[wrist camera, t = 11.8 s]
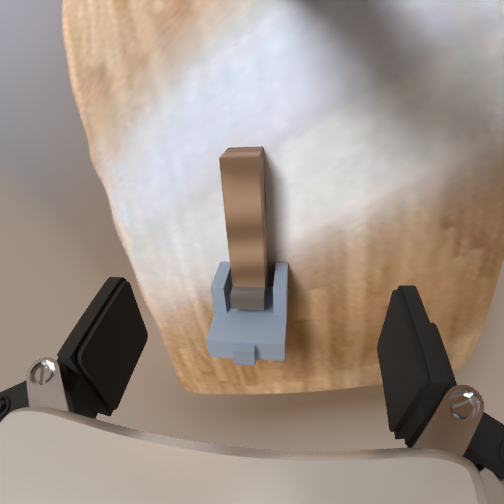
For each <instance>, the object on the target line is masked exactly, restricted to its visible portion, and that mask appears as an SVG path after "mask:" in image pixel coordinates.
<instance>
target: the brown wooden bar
mask: <svg viewBox="0 0 504 504" xmlns="http://www.w3.org/2000/svg"><path fill="white" fill-rule="evenodd" d="M219 160H220V171H221V181H222V191H223V201H224V211H225V220H226V230H227V239H228V248H229V257H230V266H231V275H232V284H233V287H232V291H231V294H230V300H231V308H232V309H247V310H264V307H265V300H266V293H267V286H268V279H269V272H268V247H267V224H266V202H265V181H264V162H263V147H237V148H228V149H227V150H226V151H225V152H224V153H223V155H222V156H221V157H220V158H219Z"/></svg>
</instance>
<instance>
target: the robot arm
mask: <svg viewBox="0 0 504 504" xmlns="http://www.w3.org/2000/svg"><path fill="white" fill-rule="evenodd" d="M147 338H148V334H147V330H146V327H145V325H144V322H143V320H142V317H141V314H140V311H139V308H138V305H137V303H136V300H135V297H134V294H133V291H132V288H131V285H130V283H129V282H127V281H126V279H125V278H122V277H109V278H108V279H107V281H106V282H105V283H104V285H103V286H102V288H101V289H100V291H99V292H98V293H97V295H96V296H95V298H94V299H93V301H92V302H91V304H90V305H89V306H88V308H87V309H86V311H85V312H84V314H83V315H82V317H81V318H80V320H79V321H78V323H77V324H76V326H75V327H74V329H73V330H72V332H71V333H70V335H69V337H68V338H67V340H66V341H65V343H64V344H63V346H62V348H61V349H60V351H59V353H58V354H57V355H58V359H57V361H56V360H55V359H53V358H47V357H45V358H41V359H39V360H37V361H35V362H34V363H33V364H32V365H31V366H30V368H29V369H28V372H27V375H26V381H24V382H22V383H20V384H18V385H15V386H13V387H11V388H9V389H7V390H4V391H2V392H0V504H504V425H503V424H502V423H500V422H499V421H497V420H495V419H494V418H492V417H491V416H489V415H488V414H486V413H485V412H483V411H484V401H483V399H482V397H481V395H480V394H479V392H477V391H476V390H475V389H474V388H472V387H470V386H467V385H457V384H456V381H455V377H454V374H453V371H452V368H451V365H450V362H449V359H448V356H447V353H446V350H445V348H444V345H443V342H442V339H441V336H440V334H439V331H438V328H437V326H436V324H434V323H430V321H429V319H428V316H427V313H426V311H425V308H424V306H423V303H422V300H421V298H420V295H419V293H418V291H417V288H416V286H399V287H398V289H397V290H393V292H392V295H391V299H390V303H389V307H388V310H387V314H386V317H385V321H384V324H383V328H382V331H381V335H380V338H379V341H378V346H377V352H378V358H379V363H380V369H381V375H382V381H383V387H384V394H385V400H386V407H387V415H388V421H389V429H390V431H391V432H394V434H395V439H403V438H404V439H405V444H406V445H407V448H395V449H376V450H355V451H354V450H353V451H288V450H270V449H256V448H244V447H233V446H225V445H217V444H210V443H202V442H196V441H190V440H184V439H178V438H173V437H167V436H162V435H157V434H152V433H148V432H143V431H139V430H135V429H130V428H126V427H122V426H118V425H114V424H110V423H107V422H103V421H100V420H97V419H96V416H97V414H98V413H100V414H104V415H107V416H111V414H112V412H113V410H116V409H117V407H118V405H119V403H120V401H121V398H122V396H123V394H124V391H125V389H126V387H127V384H128V382H129V380H130V377H131V375H132V373H133V371H134V368H135V366H136V364H137V362H138V359H139V357H140V355H141V353H142V351H143V348H144V346H145V344H146V342H147ZM487 499H488V500H487Z"/></svg>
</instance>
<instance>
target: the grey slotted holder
mask: <svg viewBox="0 0 504 504" xmlns="http://www.w3.org/2000/svg"><path fill="white" fill-rule="evenodd" d="M232 287H233V284H232V275H231V266H230V262H220V264H219V267H218V269H217V272H216V275H215V277H214V280H213V283H212V286H211V293H212V299H213V305H214V311H215V314H214V317H213V320H212V323H211V326H210V330H209V333H208V336H207V339H206V341H207V346H208V350H209V355H210V357H222V358H234V360H235V364H240V365H255V363H256V359H257V360H285V346H286V329H287V311H288V263H276V266H275V276H274V285H273V287H267V293H266V300H265V307H264V310H247V309H232V308H231V300H230V294H231V291H232Z"/></svg>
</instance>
